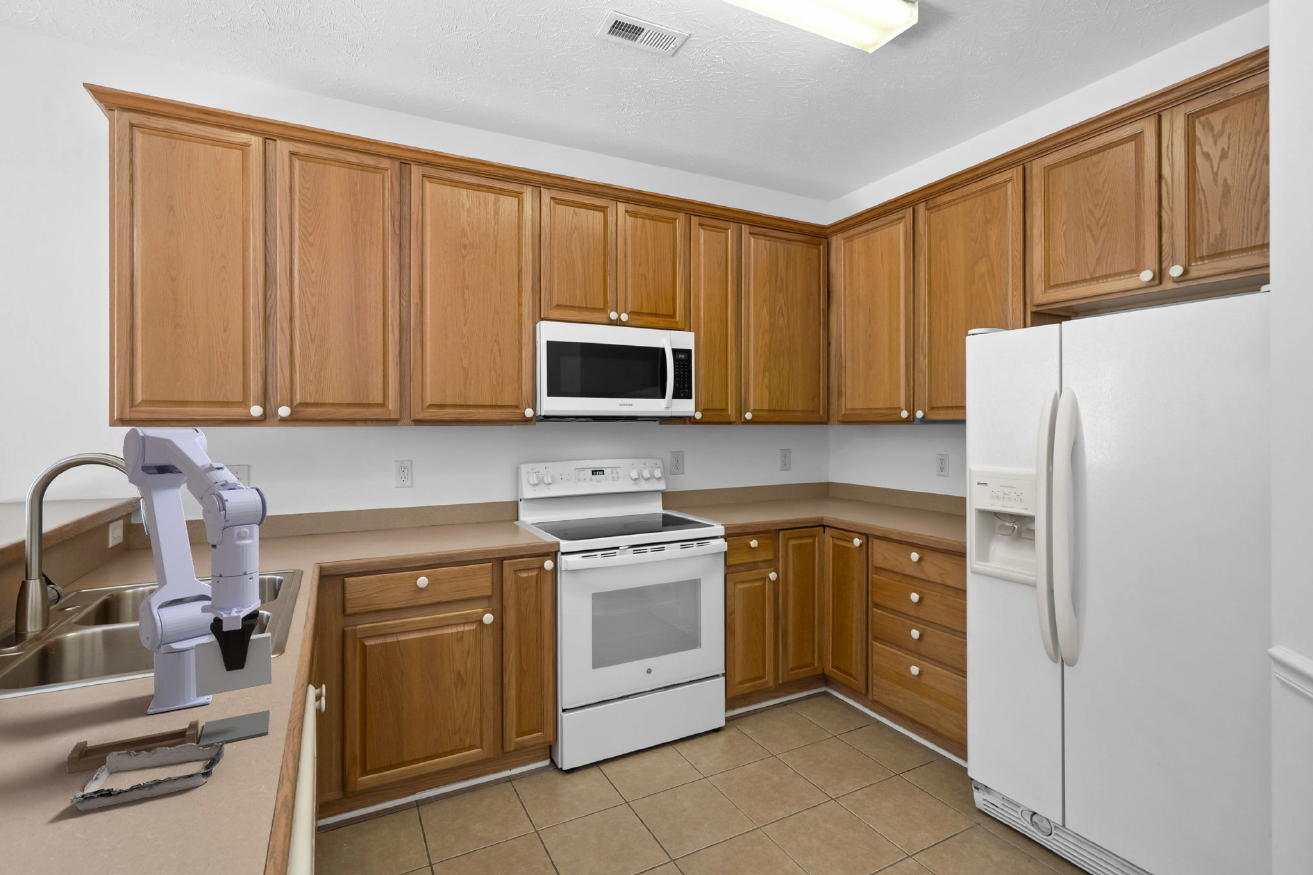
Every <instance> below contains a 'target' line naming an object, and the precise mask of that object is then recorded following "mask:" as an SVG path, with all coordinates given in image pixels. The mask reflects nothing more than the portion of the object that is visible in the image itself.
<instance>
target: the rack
mask: <svg viewBox="0 0 1313 875" xmlns="http://www.w3.org/2000/svg"><path fill="white" fill-rule="evenodd" d="M199 723H200V722H199V719H196V720H190V721H189V723H188V725H187V726H188V727H183V728H177V729H173V730H168V731H163V732H157V733H153V734H152V733H151V734H146V735H141V736H137V737H132V738H131V737H130V738H126V739H121V740H115V741H110V742H105V743H104V742H103V743H100V744H94V745H89V746H88V740H84V741H77V742H76V743H75V745H74V746H73V748H72V750H71V751H70V753H69V755H68V756H66V757H67V758H66V761H67V762H66V763H67V764H66V766H67V771H66V773H67V774H70V773H76V772H81V771H85V770H89V769H95V768H101V767H102V766H105V764H106V761H107V760H106V757H107V756H108V755H110V753H112V752H121V751H133V752H135V753H139V752H141V751H145V752H151V751H152V750H153V749H155V748H159V747H168V748H171V747H176V746H178V745H182V744H187V743H195V744H197V741H198V737H199V734H200V724H199Z"/></svg>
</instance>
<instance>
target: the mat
mask: <svg viewBox="0 0 1313 875" xmlns="http://www.w3.org/2000/svg"><path fill="white" fill-rule="evenodd" d="M269 725H270V710H269V709H268V710H262V711H257V712H252V713H246V714H241V715H235V716H231V717H225V718H220V719H216V720H211V721H206V722H205V723H204V726H203V728H202V732H201V733H202V734H201V737H200V740H199V743H198V744H200V747H202V748H204V749H206V748H210V747H213V744H214V743H222V742H224V740H226V742H225V743H224V744H228V743H234V742H238V741H242V740H244V741H245V740H249V739H253V738H259V737H262V736H267V735H269V728H270V727H269Z"/></svg>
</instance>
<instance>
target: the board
mask: <svg viewBox="0 0 1313 875" xmlns="http://www.w3.org/2000/svg"><path fill="white" fill-rule="evenodd" d="M272 657H273V656H272V632H265V633H259V634H258V633H257V634H252V635H251V638H250V642H249V646H248V652H247V658H246V663H245V666H244V669H240V670H234V671H226V669H225V666H224V662H223V657H222V653H221V649H220V646H219V644H218V641H217V640H214V641H211V642H207V643H200V644H196V646H195V675H196V698H198V697H203V696H208V695H213V696H214V695H217V694H218V695H219V694H224V693H228V692H234V691H240V690H243V689H250V688H255V687H260V686H266V685H270V684H273V664H272V663H273V662H272V659H273V658H272Z"/></svg>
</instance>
